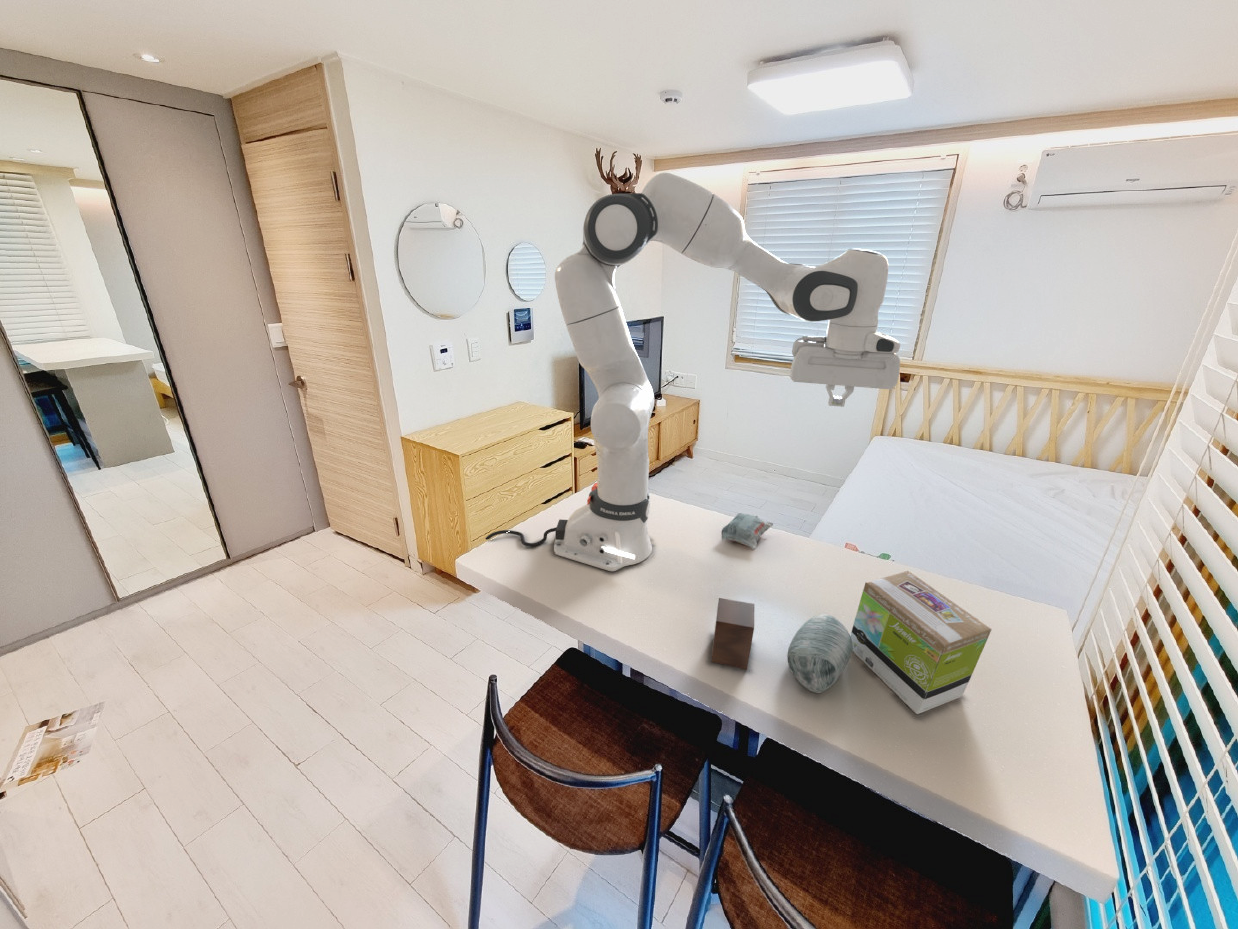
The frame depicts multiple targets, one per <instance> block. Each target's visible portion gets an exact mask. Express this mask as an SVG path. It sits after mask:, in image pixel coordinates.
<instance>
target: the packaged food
mask: <svg viewBox="0 0 1238 929" xmlns="http://www.w3.org/2000/svg"><path fill="white" fill-rule="evenodd" d="M773 526H774V523H773V522H771V521H769V522H768V521H766V520H764V519H761V518H760V517H758V515H755V514H749V513H742V512H739V513H737V514H736V515H735V516H734V518H732V520H731V521H730V522H729V523H728V524H726V525H725V526H724V527H723V528H722V529H721V540H723V541H725V540H728V541H732V542H735V543H738V544H741V545H743V546H747V547H749V548H750V549H752V550H756V549H757V544H758V543H757V542H758V541H759V539H760V538H761V537H762V535H764V534H765V533H766V532H767V531H768V530H769V529H770V528H772V527H773Z"/></svg>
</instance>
